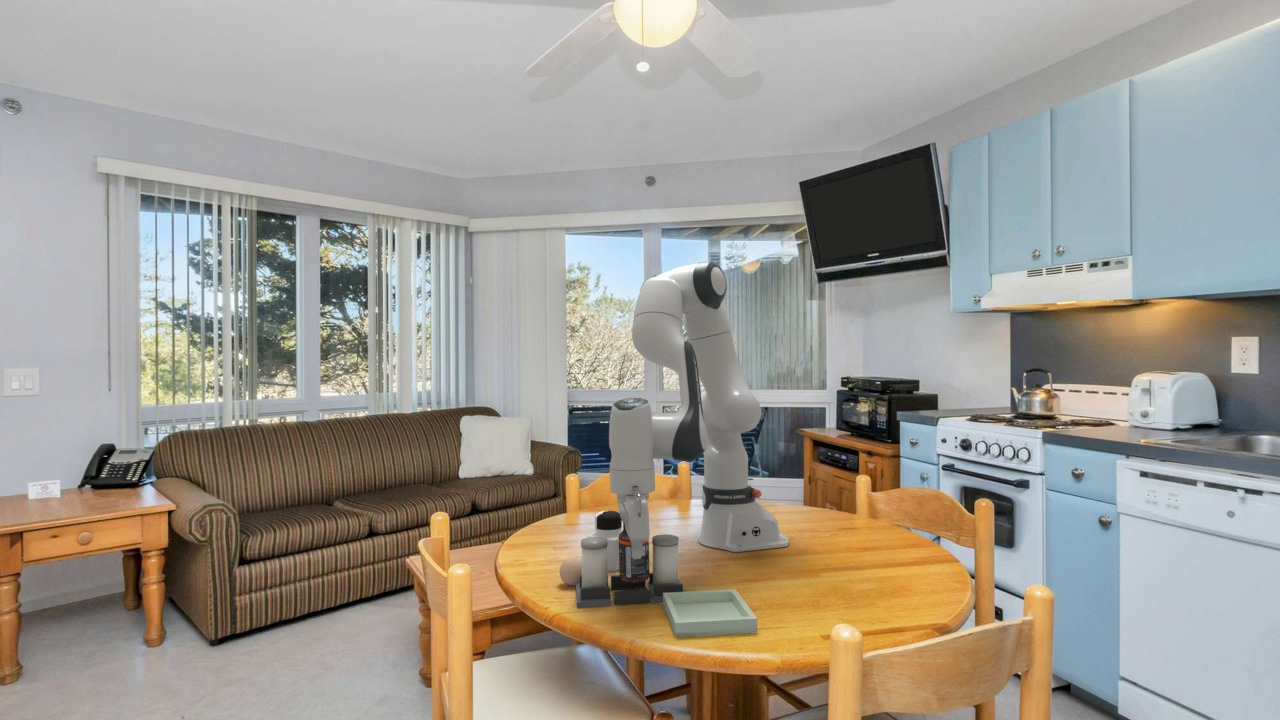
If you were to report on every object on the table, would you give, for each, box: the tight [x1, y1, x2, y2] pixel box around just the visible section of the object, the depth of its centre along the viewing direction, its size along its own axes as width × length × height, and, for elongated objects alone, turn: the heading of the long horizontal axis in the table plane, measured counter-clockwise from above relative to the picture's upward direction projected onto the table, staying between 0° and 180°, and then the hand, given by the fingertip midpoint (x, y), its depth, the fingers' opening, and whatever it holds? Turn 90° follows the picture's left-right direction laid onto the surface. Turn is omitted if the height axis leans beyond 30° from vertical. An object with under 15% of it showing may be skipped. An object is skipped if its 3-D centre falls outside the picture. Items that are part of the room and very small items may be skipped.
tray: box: [662, 588, 758, 638], centre depth 114 cm, size 14×14×2 cm
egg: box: [559, 555, 582, 586], centre depth 132 cm, size 5×5×6 cm
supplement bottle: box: [618, 522, 650, 583], centre depth 126 cm, size 6×6×11 cm
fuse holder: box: [575, 533, 686, 609], centre depth 126 cm, size 21×10×11 cm, turn 97°
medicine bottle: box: [586, 510, 623, 573], centre depth 144 cm, size 7×7×12 cm
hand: (634, 552), depth 126 cm, fingers closed on supplement bottle, 6 cm apart
